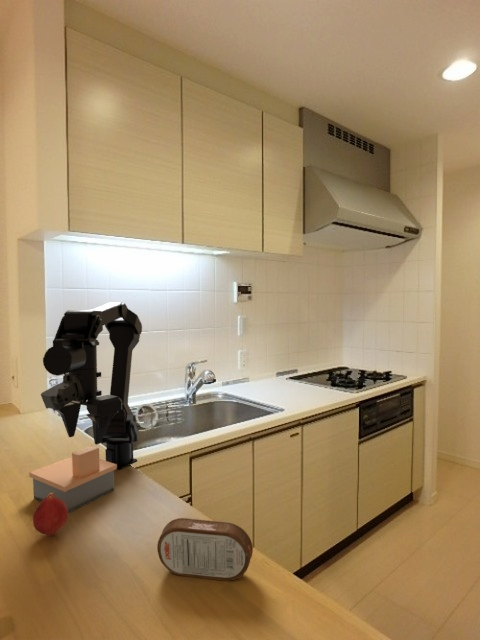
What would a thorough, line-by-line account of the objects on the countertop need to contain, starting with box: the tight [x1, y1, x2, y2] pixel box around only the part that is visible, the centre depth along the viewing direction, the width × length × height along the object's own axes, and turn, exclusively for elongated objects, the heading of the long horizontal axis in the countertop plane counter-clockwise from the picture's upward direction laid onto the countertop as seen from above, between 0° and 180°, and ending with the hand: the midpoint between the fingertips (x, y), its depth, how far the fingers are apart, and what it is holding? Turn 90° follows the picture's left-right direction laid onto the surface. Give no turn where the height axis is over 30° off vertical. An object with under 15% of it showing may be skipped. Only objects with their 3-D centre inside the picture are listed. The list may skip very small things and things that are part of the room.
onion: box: [32, 493, 69, 537], centre depth 74 cm, size 6×6×8 cm
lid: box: [28, 445, 118, 492], centre depth 90 cm, size 13×13×8 cm
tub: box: [32, 470, 115, 514], centre depth 90 cm, size 12×12×5 cm
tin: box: [156, 517, 254, 582], centre depth 63 cm, size 15×3×8 cm, turn 80°
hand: (84, 440), depth 87 cm, fingers open, 9 cm apart
